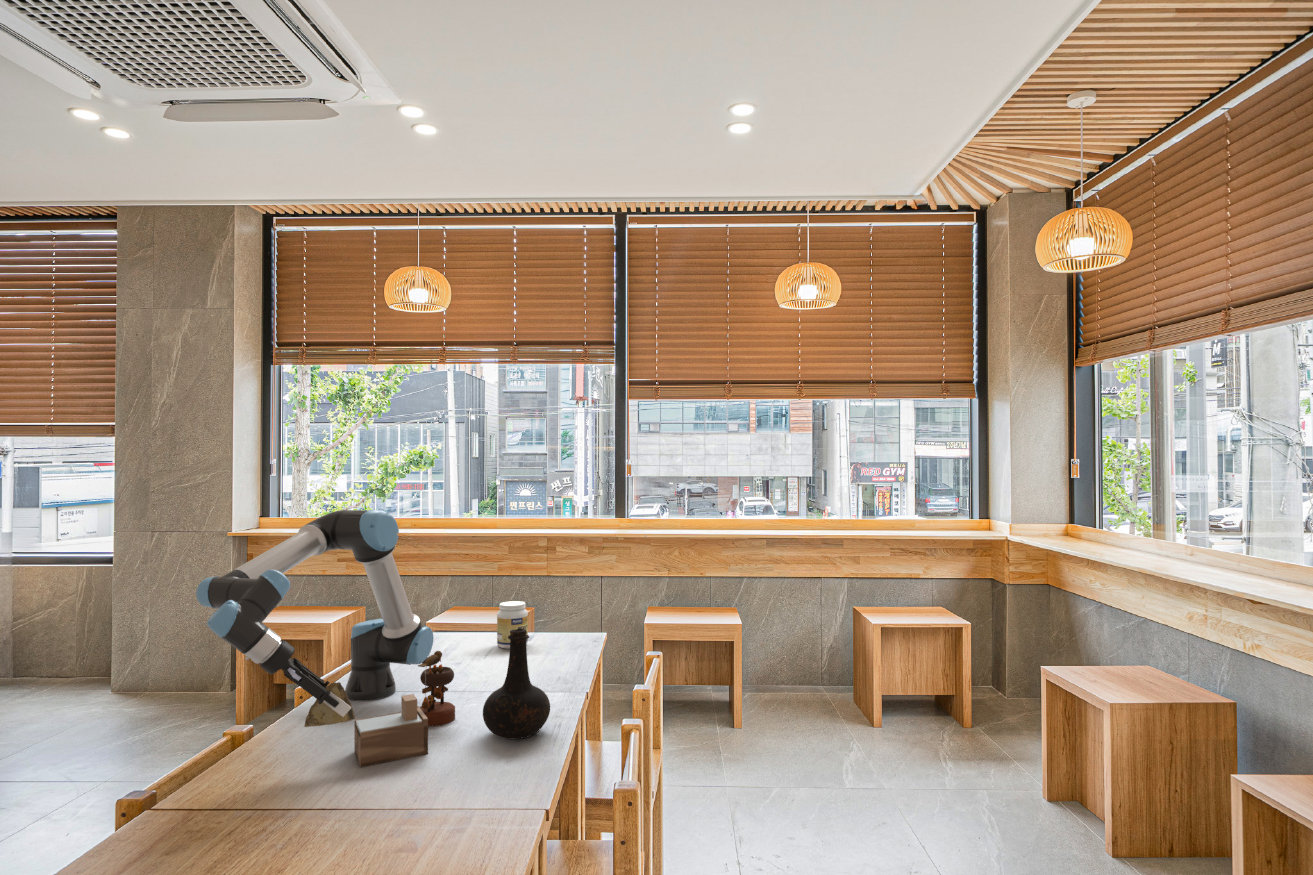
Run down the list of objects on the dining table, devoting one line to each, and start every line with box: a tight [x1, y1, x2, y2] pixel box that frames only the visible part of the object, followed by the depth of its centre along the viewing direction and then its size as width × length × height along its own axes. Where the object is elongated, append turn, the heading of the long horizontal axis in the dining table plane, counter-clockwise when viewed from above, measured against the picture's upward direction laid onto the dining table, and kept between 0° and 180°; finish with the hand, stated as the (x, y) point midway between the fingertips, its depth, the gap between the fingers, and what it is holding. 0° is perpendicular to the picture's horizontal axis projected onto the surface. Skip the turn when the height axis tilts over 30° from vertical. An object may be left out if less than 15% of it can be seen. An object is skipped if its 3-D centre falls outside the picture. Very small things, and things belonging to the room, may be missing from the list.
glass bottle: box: [482, 629, 551, 740], centre depth 199 cm, size 18×18×28 cm
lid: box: [356, 693, 422, 733], centre depth 186 cm, size 9×15×6 cm, turn 120°
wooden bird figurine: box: [417, 650, 456, 727], centre depth 211 cm, size 15×11×20 cm
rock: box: [303, 681, 356, 728], centre depth 180 cm, size 11×9×10 cm
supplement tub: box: [496, 600, 529, 650], centre depth 294 cm, size 12×12×17 cm
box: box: [353, 705, 429, 768], centre depth 186 cm, size 11×16×9 cm
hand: (345, 708), depth 181 cm, fingers closed on rock, 5 cm apart
